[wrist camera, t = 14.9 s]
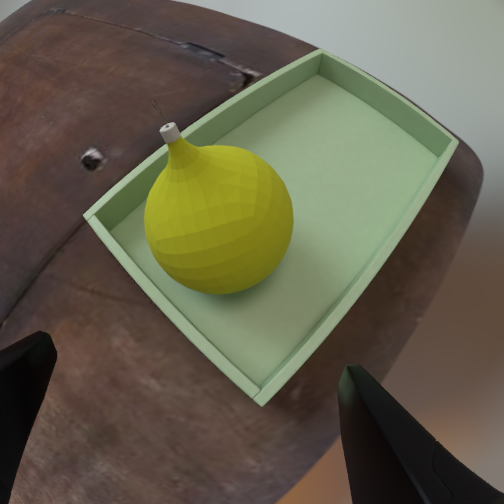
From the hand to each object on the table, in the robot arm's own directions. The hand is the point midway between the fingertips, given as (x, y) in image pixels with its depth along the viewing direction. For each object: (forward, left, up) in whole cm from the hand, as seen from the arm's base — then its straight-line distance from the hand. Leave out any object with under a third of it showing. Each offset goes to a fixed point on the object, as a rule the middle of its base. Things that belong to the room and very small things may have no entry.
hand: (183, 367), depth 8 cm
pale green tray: (+4, -12, -9) cm, 15 cm away
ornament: (+4, -5, -8) cm, 11 cm away
